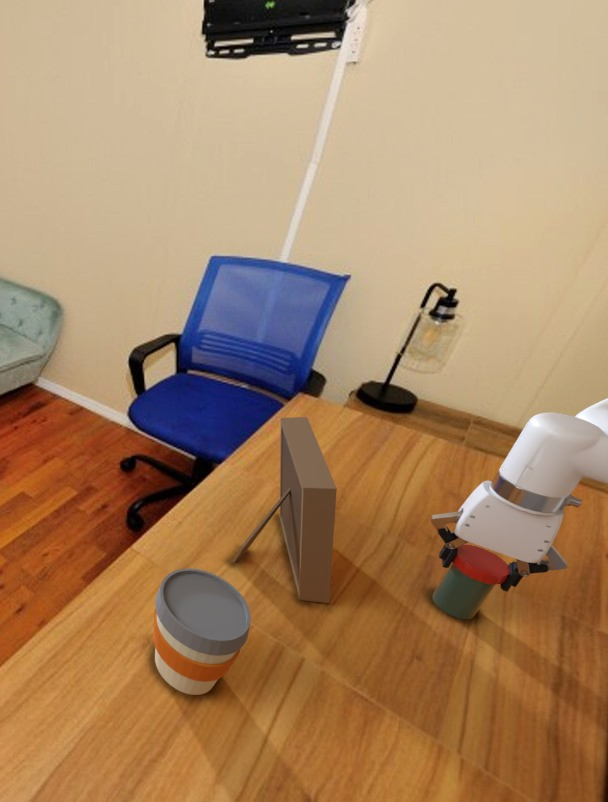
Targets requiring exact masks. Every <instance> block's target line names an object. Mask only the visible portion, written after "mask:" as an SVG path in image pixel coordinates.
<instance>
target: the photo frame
mask: <svg viewBox="0 0 608 802" xmlns="http://www.w3.org/2000/svg"><path fill="white" fill-rule="evenodd" d="M279 429H280V432H279V433H280V434H279V435H280V436H279V437H280V438H279V439H280V440H279V499H278V500H277V501H276V503H275V504H274V505H273V507H271V509H270V510H269V511H268V512H267V514H266V515H265V516H264V517H263V519H262V520H261V521H260V522H259V524H258V525H257V526H256V527H255V529H254V530H253V531H252V532H251V533H250V535H249V536H248V537H247V538H246V539H245V541H243V543H242V545H241V546H240V547H239V549H238V550H237V552H236V554H235V555H234V557H233V559H232V560H231V562H232V563H236V561H238V560H239V559H240V558H241V557H243V555H245V553H247V551H248V549H250V547H251V546H252V544H253V543H254V542H255V540H256V539H257V538H258V536H259V535H260V534H261V532H262V531H263V530H264V529H265V527H266V526H267V524H268V523H269V521H270V520H271V519H272V518H273V517H274V515H275V513H276V512H277V511H278V510H279V521H280V525H281V529H282V533H283V538H284V542H285V546H286V550H287V554H288V557H289V561H290V566H291V570H292V574H293V579H294V583H295V586H296V591H297V595H298V599H299V601H306V602H307V601H308V602H316V603H326V604H330V599H331V597H330V596H331V581H332V566H333V552H334V551H333V550H334V535H335V523H336V522H335V521H336V508H337V507H336V503H337V489H338V488H337V486H336V484H335V481H334V478H333V476H332V474H331V472H330V469H329V467H328V464H327V461H326V459H325V457H324V455H323V452H322V449H321V447H320V445H319V443H318V440H317V437H316V435H315V432H314V430H313V427H312V425H311V423H310V421H309V418H308V416H303V417H301V416H300V417H299V416H298V417H296V416H295V417H280V428H279Z"/></svg>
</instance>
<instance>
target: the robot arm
mask: <svg viewBox="0 0 608 802" xmlns="http://www.w3.org/2000/svg"><path fill="white" fill-rule="evenodd" d="M584 478H585V479H586V478H587V479H590V480H593V481H597V482H600V483H603V484H607V485H608V397H607V398H605V399H603V400H600V401H598V402H596V403H593V404H592V405H590V406H588V407H586V408H584V409H583V410H581V411H580V412H578V413H577V414H576V415H575V416H574V415H570V414H564V413H559V412H541V413H537V414H535V415H533V416H531V418H529V420H528V421H527V423H525V425H524V427H523V429H522V431H521V432H520V434H519V436H518V437H517V438H516V441H515V442H514V444H513V445H512V447H511V448H510V451H509V452H508V454H507V455H506V457H505V459H504V461H503V462H502V464H501V465H500V467H499V469H498V471H496V474H495V475H494V477H493V479H492V480H484V481H482V482H480V484H479V485H478V486H476V488H475V489H474V490H473V491H472V492H471V494H470V495H469V496H468V497H467V498H466V499H465V501H464V502H463V504H462V505H461V506H460V507H459V509H458V511H452V512H444V513H437V514H431V516H430V522H431V524H432V526H433V527H434V528H435V530H436V532H437V534H438V535H439V537H440V538H441V540H442V541H443V542H444V544H443V546H442V547H441V549H440V552H439V554H438V558H439V560H441V567H442V568H444V569H449V567H450V565H451V564H452V561H453V560H454V558H455V557H456V555H457V553H458V547H460V546H462V545H467V544H468V543H470V544H472V545H475V546H477V547H480V548H483V549H486V550H488V551H491V552H495V553H498V554H501V555H502V556H503V555H504V556H507V557H509V558H512V559H515V561H511V562H509V564H507V565H508V566H509V569H510V574H509V575H508V576H507V579H506V580H505V582H504V583H501V584H499V585H500V589H501V590H502V591H503V592H506V593H507V592H509V590H510V589H511V587H514V588H515V587H518V585H519V583H520V582H521V580H522V579H523V577H530V575H531V574H542V573H547V572H549V571H559V570H560V571H561V570H566V569H568V563H567V560H566V559H565V558H564V556H563V555H561V553H560V552H559V551H558V549H556V547H555V546H554V545H553V543H554V541H555V539H556V537H557V534H558V533H559V530H560V528H561V525H562V524H563V523H562V522H563V519H564V515H565V507H571V506H572V507H575V508H576V509H577V508H579V507H581V505H582V503H583V500H582V499H581V498H579V497H575V495H572V493H573V492H574V490H575V489H576V487H577V486H578V485H579V483H580V482H581V480H582V479H584ZM449 524H455V529H454V530H452V531H451V530H450V528H449V527H448V526H447V525H449ZM545 556H546V557H547V558H545ZM544 558H545V559H544Z"/></svg>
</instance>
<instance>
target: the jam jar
mask: <svg viewBox="0 0 608 802" xmlns="http://www.w3.org/2000/svg"><path fill="white" fill-rule="evenodd" d="M495 587H496V585H494V584H487V583H483V582H480V581H477V580H475V579H473V578H471V577H469V576H467V575H465V574H464V573H462V572H461V571H460V570H458V569H457V568H456V567H455V566H454V564H453V563H451V565H450V566H449V568H447V571H446V572H445V574H444V575H443V577H442V578H441V580H440V581H439V584H438V585H437V587H436V588H435V590H434V591H433V593H432V595H431V596H432V597H431V598H432V600H433V603H434V604H435V605H436V606H437V607H438V608H439V609H440V610H442V611H443V612H444V613H446V614H448V615H450V616H452V617H453V618H457V619H460V620H472V619H473V618H474V617H475V616H476V615H477V613H478V612H479V610H480V608H481V607H482V606H483V604H484V603H485V601H486V600H487V598H488V597H489V595H490V594H491V593H492V591H493V590H494V588H495Z"/></svg>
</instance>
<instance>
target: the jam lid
mask: <svg viewBox="0 0 608 802" xmlns="http://www.w3.org/2000/svg"><path fill="white" fill-rule="evenodd" d="M452 563H453V564H454V566H455V567H456V568H457V569H458V570H460V571H461V572H462V573H464V574H465V575H467V576H469V577H471V578H473V579H475V580H477V581H480V582H483V583H487V584H494V585H495V586H497V585H500V584H501V583H504V582H505V580H506V579H507V576H508V575H509V574H510V569H509V566H508V565H509V564H507V562H506V561H505V560H504V559H502V557H500V556H498V555H497V554H495V553H494V552H493V551H491V550H489V549H486V548H484V547H481V546H478V545H474V544H464V545H462V546H460V547H458V553H457V555H456V557H455V558H454V560H453V561H452ZM452 563H451V564H452Z"/></svg>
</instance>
